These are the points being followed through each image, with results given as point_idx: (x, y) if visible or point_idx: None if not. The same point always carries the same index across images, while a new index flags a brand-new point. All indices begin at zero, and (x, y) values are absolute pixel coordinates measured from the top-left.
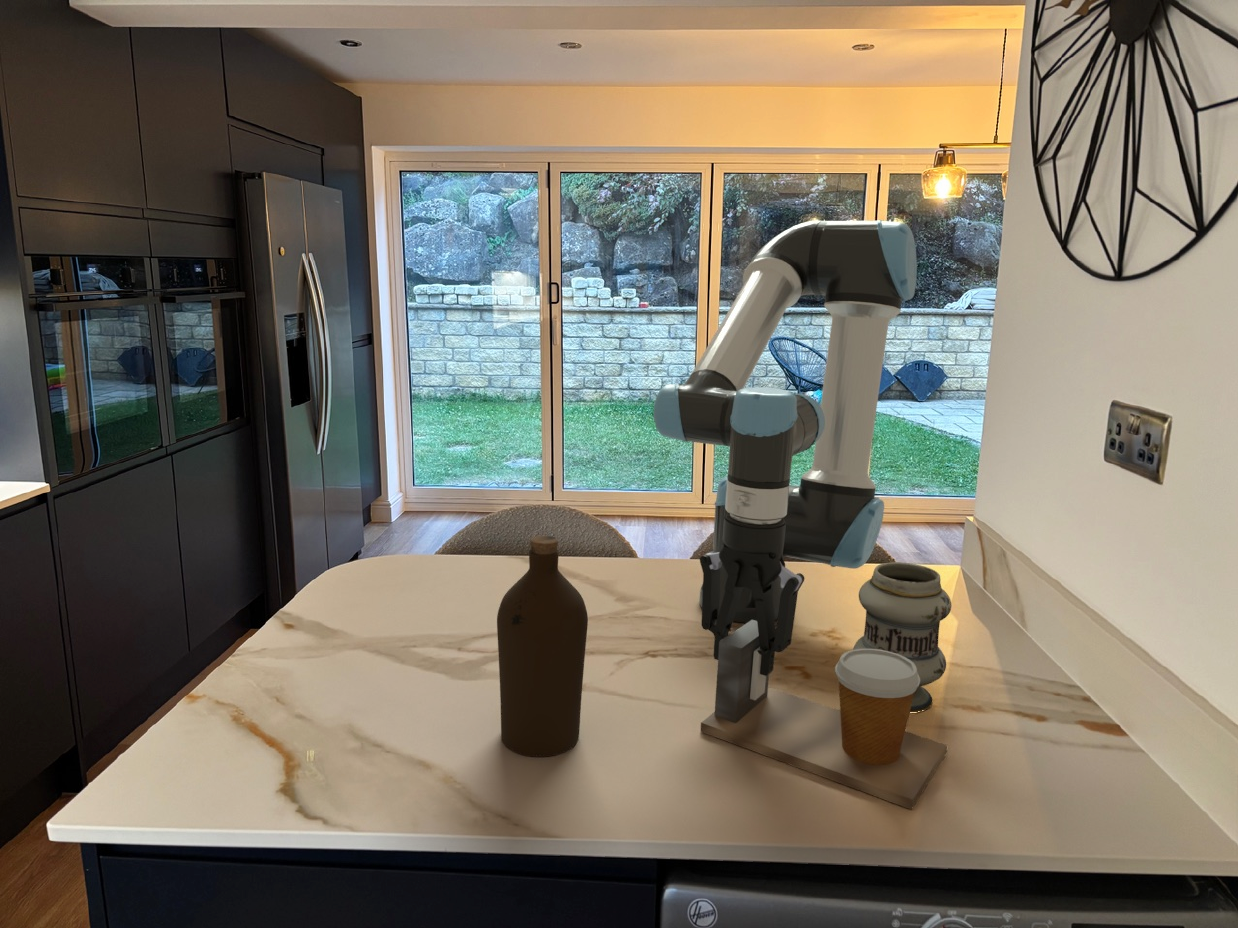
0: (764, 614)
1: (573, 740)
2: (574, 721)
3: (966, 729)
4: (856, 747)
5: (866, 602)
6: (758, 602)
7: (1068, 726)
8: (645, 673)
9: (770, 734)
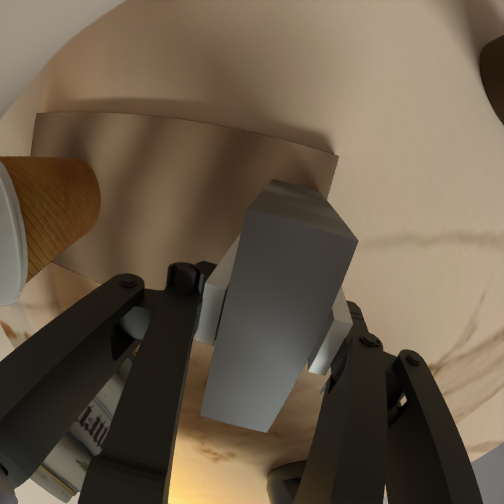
0: (129, 387)
1: (484, 63)
2: (501, 57)
3: (44, 305)
4: (68, 159)
5: (57, 447)
6: (145, 453)
7: (15, 328)
8: (443, 319)
9: (201, 166)
